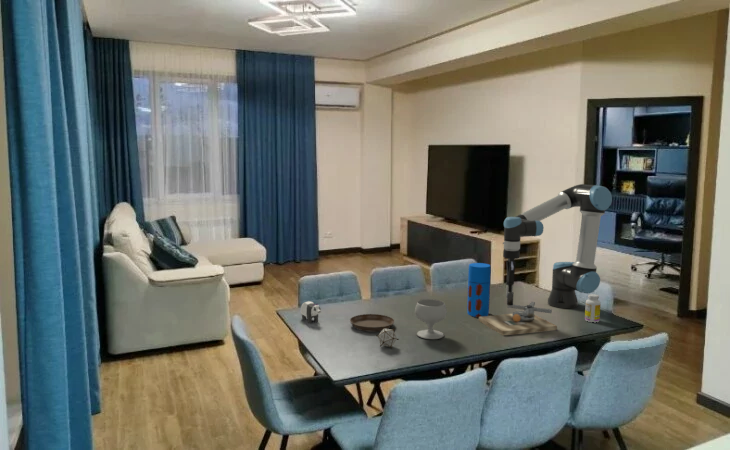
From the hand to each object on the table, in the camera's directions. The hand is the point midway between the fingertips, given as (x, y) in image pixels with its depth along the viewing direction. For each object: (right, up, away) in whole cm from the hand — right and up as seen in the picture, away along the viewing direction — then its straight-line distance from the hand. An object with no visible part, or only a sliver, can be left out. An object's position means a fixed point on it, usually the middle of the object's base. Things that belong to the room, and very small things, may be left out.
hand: (509, 297), depth 266 cm
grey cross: (+7, -10, -8) cm, 14 cm away
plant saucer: (-67, -12, -10) cm, 68 cm away
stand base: (+2, -12, -7) cm, 14 cm away
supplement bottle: (+40, -12, 0) cm, 42 cm away
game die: (-61, -16, -36) cm, 72 cm away
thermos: (-13, -10, +10) cm, 19 cm away
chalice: (-41, -14, -22) cm, 49 cm away
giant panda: (-95, -11, -3) cm, 96 cm away
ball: (+1, -10, -10) cm, 14 cm away
